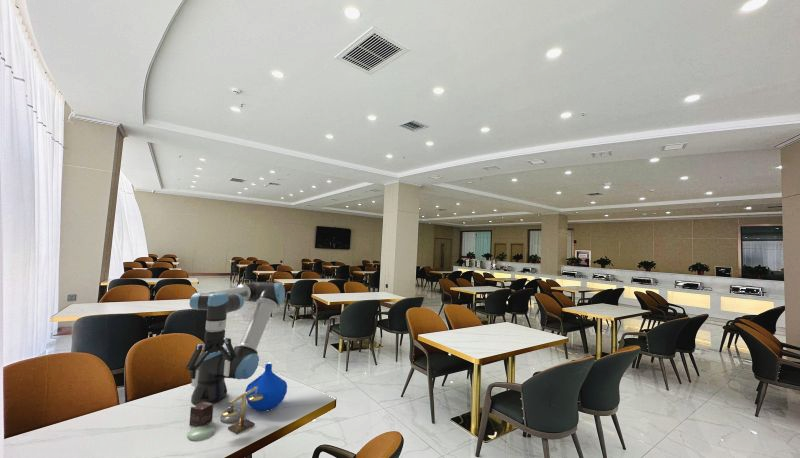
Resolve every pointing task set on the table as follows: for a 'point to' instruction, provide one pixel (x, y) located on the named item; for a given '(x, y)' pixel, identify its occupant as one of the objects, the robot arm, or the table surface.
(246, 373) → the robot arm
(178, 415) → the table surface
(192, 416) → the box
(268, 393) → the vase
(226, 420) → the grey plastic dome
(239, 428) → the balance
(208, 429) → the mint green rounded dome
